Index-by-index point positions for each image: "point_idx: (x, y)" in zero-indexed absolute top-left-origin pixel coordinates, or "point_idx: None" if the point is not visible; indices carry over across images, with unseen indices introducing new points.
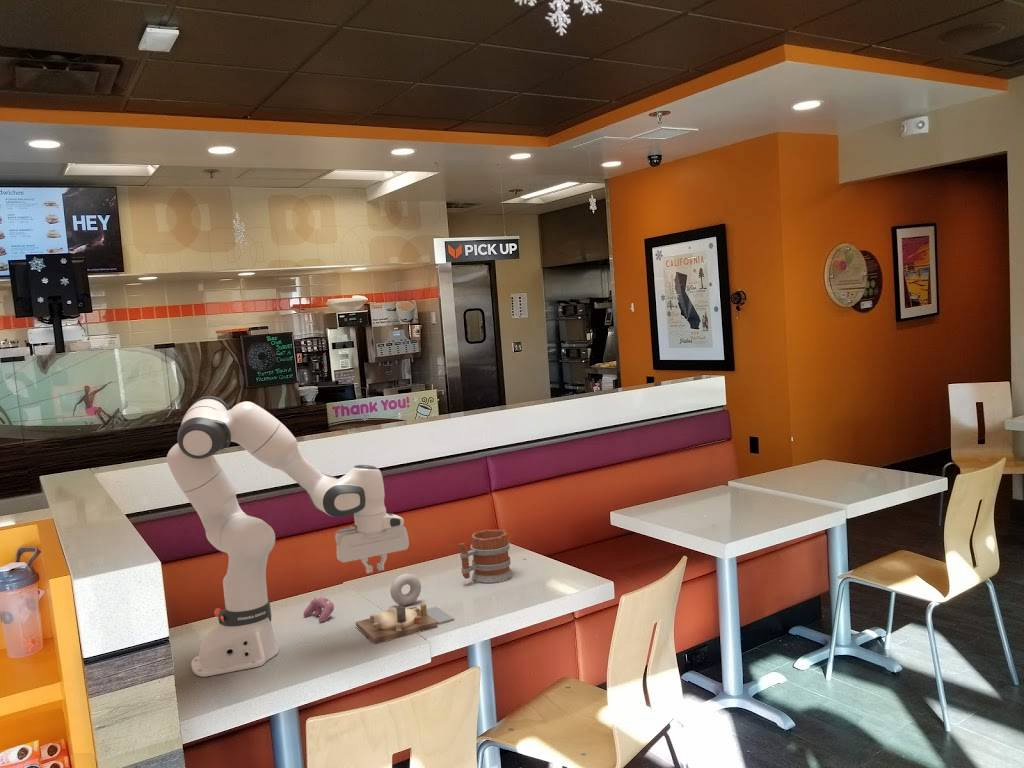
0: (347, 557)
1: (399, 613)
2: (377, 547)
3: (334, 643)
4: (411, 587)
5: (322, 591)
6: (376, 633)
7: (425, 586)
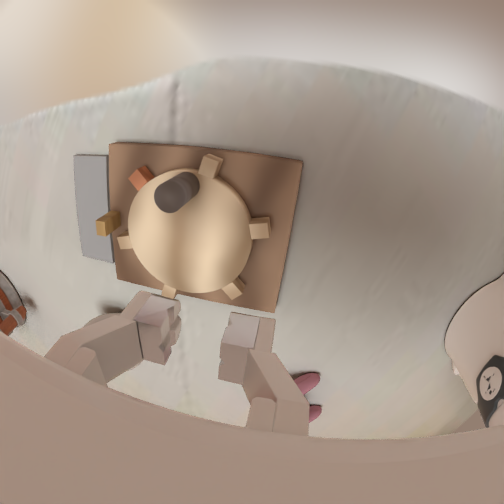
0: (495, 463)
1: (185, 183)
2: (69, 472)
3: (373, 254)
4: None
5: None
6: (275, 194)
7: None
